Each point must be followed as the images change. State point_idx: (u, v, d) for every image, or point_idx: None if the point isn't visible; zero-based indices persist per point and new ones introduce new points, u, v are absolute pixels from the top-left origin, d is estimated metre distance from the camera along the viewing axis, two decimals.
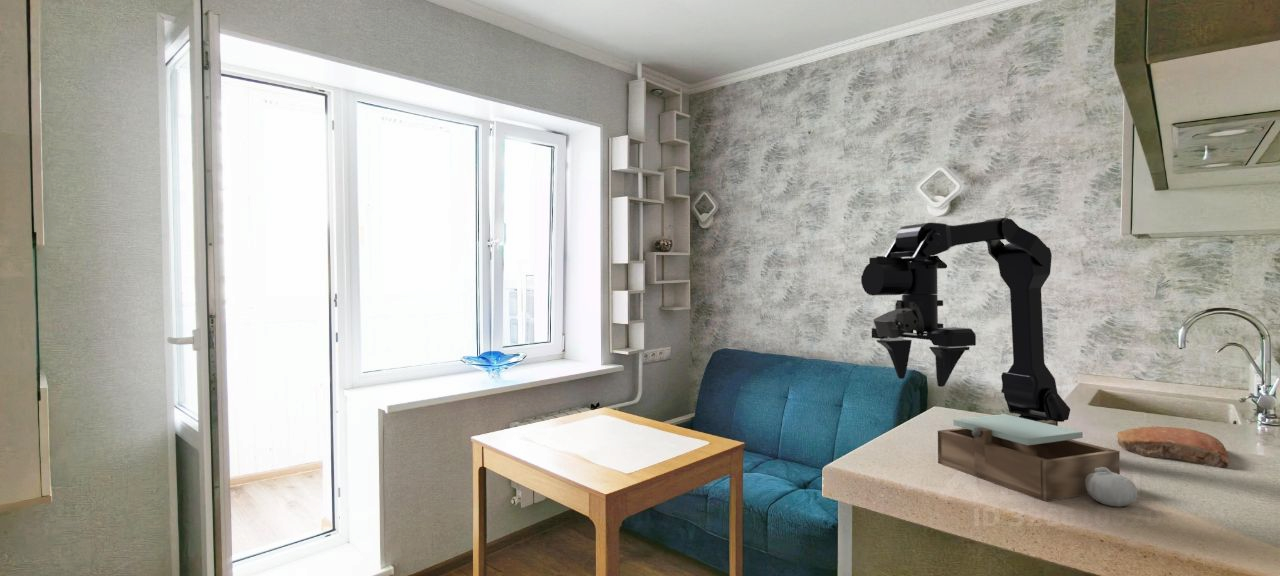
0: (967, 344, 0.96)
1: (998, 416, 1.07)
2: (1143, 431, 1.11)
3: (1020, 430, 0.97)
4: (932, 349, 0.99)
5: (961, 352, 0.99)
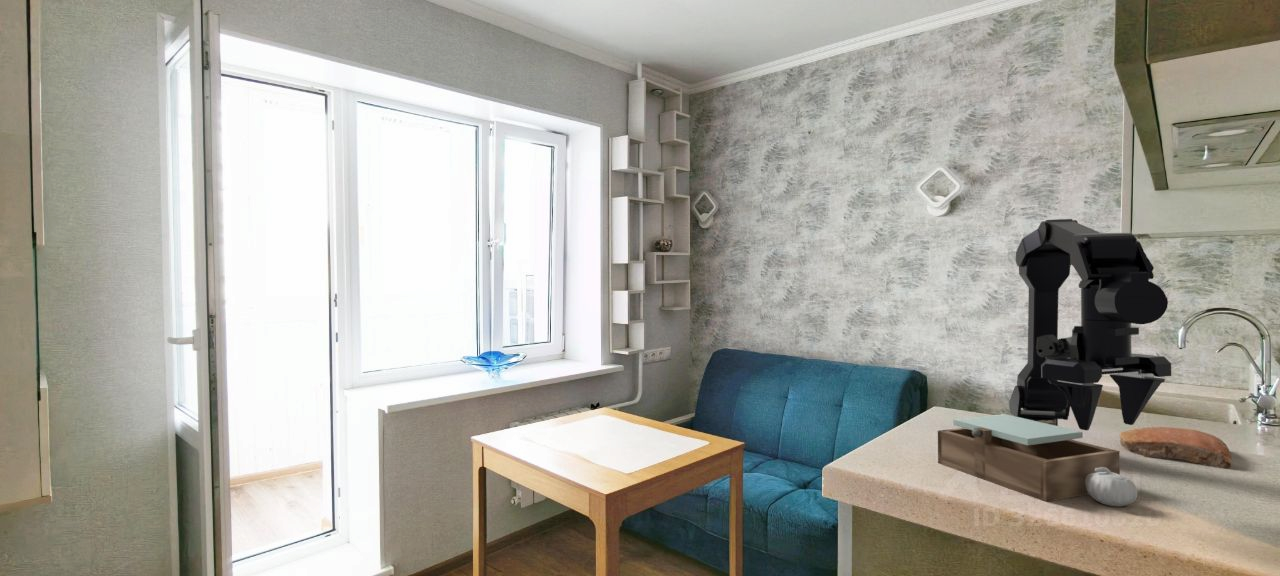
0: (1064, 379, 0.82)
1: (998, 416, 1.07)
2: (1146, 431, 1.11)
3: (1020, 430, 0.97)
4: None
5: (1090, 392, 0.82)
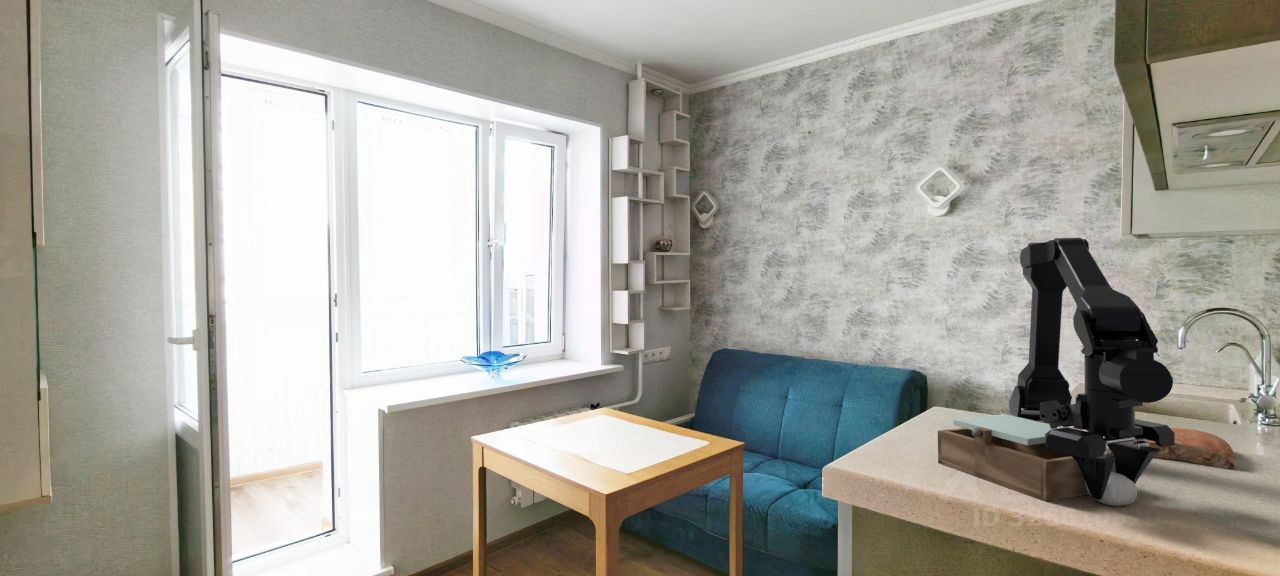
0: (1068, 452, 0.82)
1: (998, 416, 1.07)
2: None
3: (1020, 430, 0.97)
4: None
5: (1103, 464, 0.82)
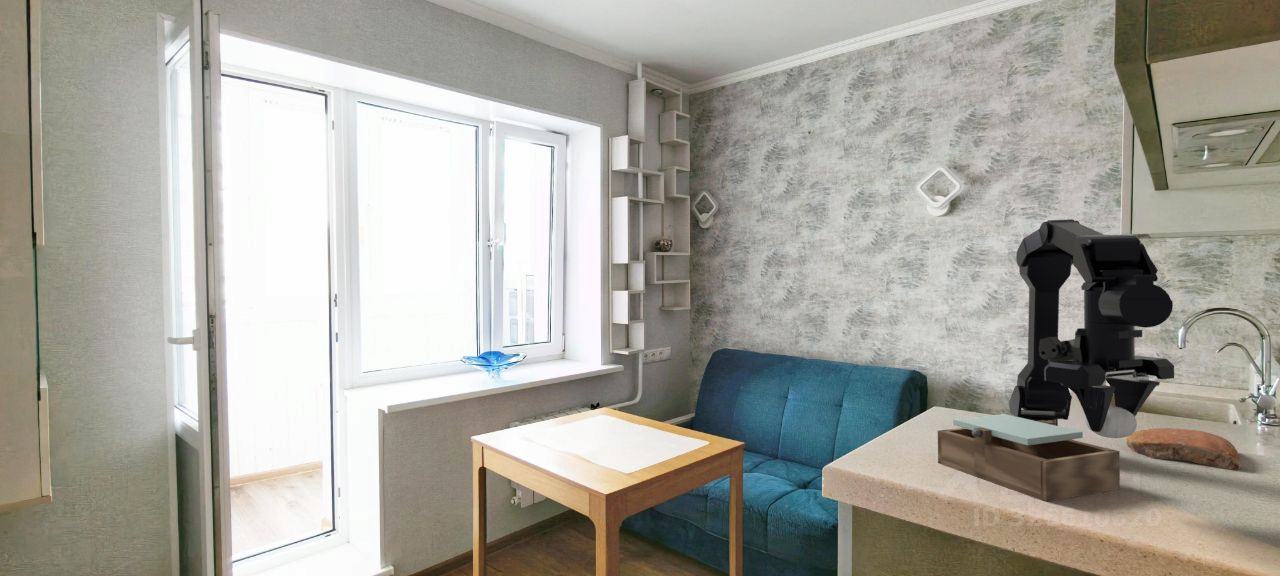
0: (1068, 382, 0.82)
1: (998, 416, 1.07)
2: (1152, 433, 1.10)
3: (1020, 430, 0.97)
4: None
5: (1102, 394, 0.82)
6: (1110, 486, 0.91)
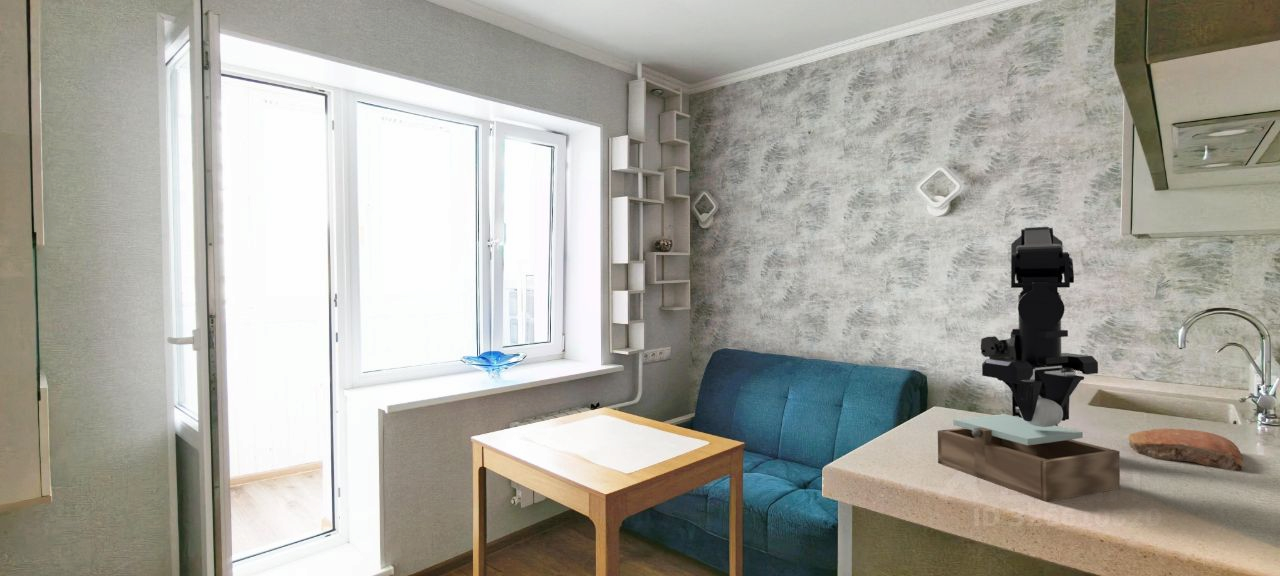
0: (1000, 377, 0.92)
1: (998, 416, 1.07)
2: (1155, 433, 1.10)
3: (1020, 430, 0.97)
4: None
5: (1031, 387, 0.92)
6: (1110, 486, 0.91)
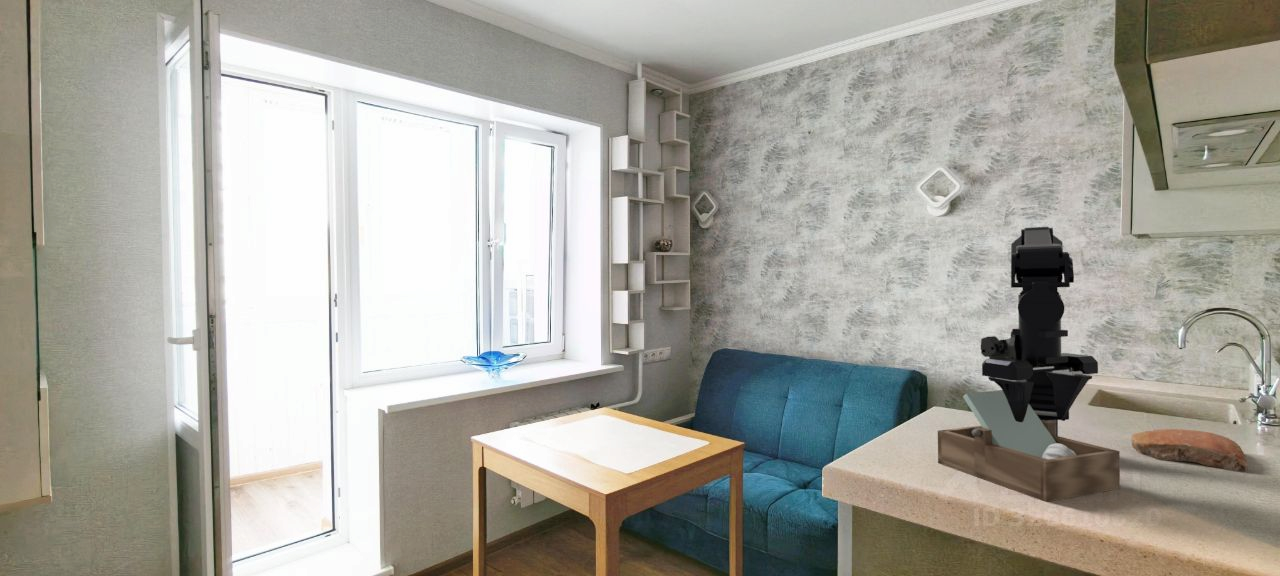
0: (1000, 377, 0.92)
1: None
2: (1158, 434, 1.09)
3: (1017, 443, 0.97)
4: None
5: (1022, 388, 0.91)
6: (1110, 486, 0.91)
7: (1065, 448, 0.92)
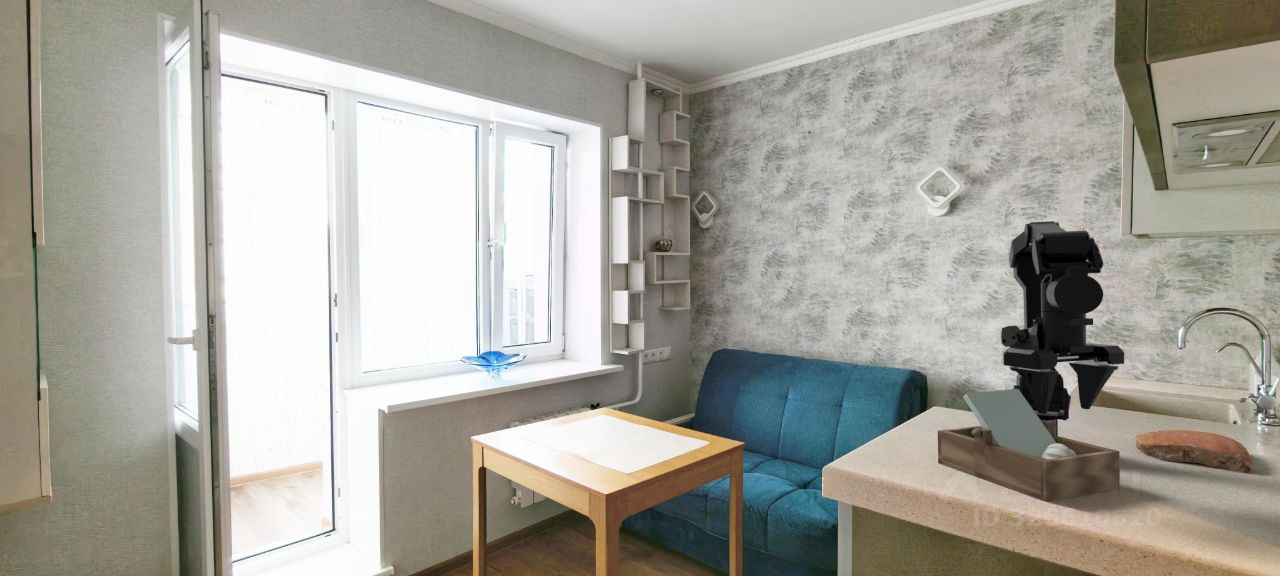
0: (1023, 366, 0.89)
1: (1010, 395, 1.04)
2: (1162, 434, 1.09)
3: (1017, 443, 0.97)
4: None
5: (1046, 378, 0.88)
6: (1110, 486, 0.91)
7: (1065, 448, 0.92)
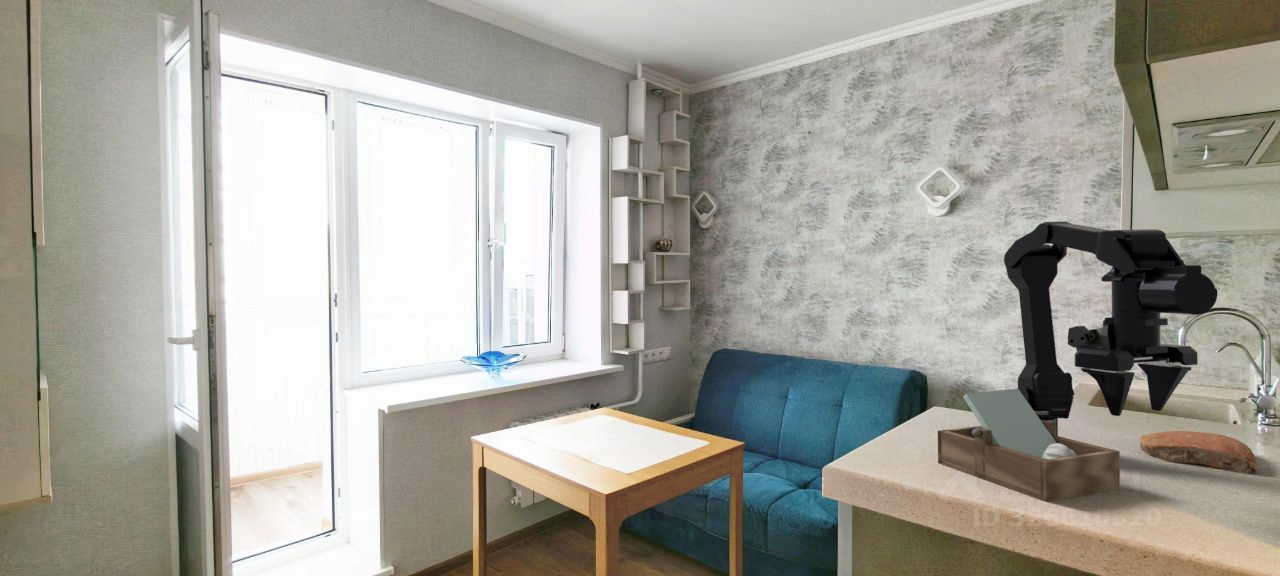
0: (1098, 367, 0.87)
1: (1010, 395, 1.04)
2: (1167, 435, 1.08)
3: (1017, 443, 0.97)
4: None
5: (1122, 379, 0.86)
6: (1110, 486, 0.91)
7: (1065, 448, 0.92)
